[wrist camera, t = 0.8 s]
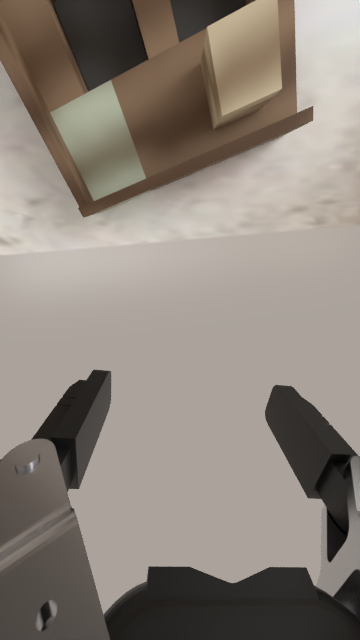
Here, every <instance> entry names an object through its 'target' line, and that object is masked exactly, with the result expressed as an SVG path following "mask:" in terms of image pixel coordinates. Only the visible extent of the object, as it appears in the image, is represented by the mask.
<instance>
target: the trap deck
mask: <svg viewBox="0 0 360 640" xmlns="http://www.w3.org/2000/svg"><path fill="white" fill-rule="evenodd" d="M131 1H132V5H133V8H134V12H135V15H136V19H137V22H138V26H139V29H140V33H141V36H140V33H139V29H138V26H137V22H136V19H135V15H134V12H133V8H132V5H131ZM131 1H130V0H0V60H1V62H2V64H3V66H4V68H5V70H6V71H7V73H8V75H9V77H10V79H11V81H12V83H13V84H14V86H15V88H16V90H17V92H18V94H19V95H20V97H21V99H22V101H23V103H24V105H25V107H26V108H27V110H28V112H29V114H30V116H31V118H32V120H33V121H34V123H35V125H36V127H37V129H38V131H39V133H40V134H41V136H42V138H43V140H44V142H45V144H46V146H47V147H48V149H49V151H50V153H51V155H52V157H53V159H54V160H55V162H56V164H57V166H58V168H59V170H60V172H61V173H62V175H63V177H64V179H65V181H66V183H67V185H68V186H69V188H70V190H71V192H72V194H73V196H74V198H75V199H76V201H77V203H78V205H79V208H78V209H79V210H80V212H81V214H82V216H83V217H86V216H90V215H93V214H96V213H100V212H102V211H105V210H107V209H109V208H112V207H114V206H116V205H119V204H121V203H124V202H126V201H128V200H131V199H133V198H135V197H138V196H140V195H143V194H145V193H147V192H150V191H152V190H154V189H157V188H159V187H162V186H164V185H166V184H169V183H171V182H173V181H176V180H178V179H181V178H183V177H185V176H188V175H190V174H192V173H195V172H197V171H200V170H202V169H204V168H207V167H209V166H211V165H214V164H216V163H219V162H221V161H223V160H226V159H228V158H230V157H233V156H235V155H238V154H240V153H242V152H245V151H247V150H249V149H252V148H254V147H257V146H259V145H261V144H264V143H266V142H268V141H271V140H273V139H276V138H278V137H280V136H283V135H285V134H287V133H289V132H291V131H293V130H295V129H297V128H299V127H301V126H303V125H305V124H307V123H309V122H311V121H313V106H312V107H310V108H308V109H305V110H303V111H301V112H298V113H297V97H296V55H295V12H294V0H278V17H279V37H280V57H281V78H282V89H281V90H280V91H279V92H278V93H277V94H276V95H275V96H274V97H273V98H272V99H271V100H270V101H269V102H268V103H267V104H266V105H264V106H263V107H262V108H261V109H260V110H258V111H255V112H253V113H251V114H249V115H246V116H244V117H242V118H240V119H238V120H235V121H233V122H231V123H229V124H226V125H224V126H222V127H220V128H218V129H215V130H213V126H212V120H211V115H210V110H209V105H208V99H207V94H206V89H205V84H204V78H203V73H202V68H201V63H200V62H201V57H202V52H203V46H204V41H205V35H206V30H207V26H209V25H211V24H213V23H215V22H217V21H219V20H220V19H222V18H224V17H226V16H228V15H230V14H232V13H233V12H235V11H237V10H239V9H241V8H243V7H244V6H246V5H248V4H250V3H252V2H254V1H256V0H131ZM55 9H56V10H55ZM57 14H58V15H57ZM58 16H59V17H58ZM59 19H60V20H59ZM60 21H61V22H60ZM61 24H62V25H61ZM62 26H63V27H62ZM64 31H65V32H64ZM66 36H67V37H66ZM141 37H142V40H143V43H142V40H141ZM68 41H69V42H68ZM143 44H144V47H145V51H146V54H147V58H148V60H147V58H146V54H145V51H144V47H143ZM70 46H71V47H70ZM71 48H72V49H71ZM72 51H73V52H72ZM73 53H74V54H73ZM75 58H76V59H75ZM77 63H78V64H77ZM79 68H80V69H79ZM81 73H82V74H81ZM83 78H84V79H83ZM84 80H85V81H84ZM86 85H87V86H86ZM88 90H89V91H88Z"/></svg>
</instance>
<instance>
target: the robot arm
mask: <svg viewBox="0 0 360 640" xmlns="http://www.w3.org/2000/svg"><path fill="white" fill-rule="evenodd" d="M110 401H111V371H103V370H93V371H92V373H91V374H90V376H89V377H88V379H87V381H86V380H79V381H78V382H76V383H75V384H73V385H72V386H70V387H69V389H68V390H67V391H66V392H65V394H64V395H63V397H62V398H61V399H60V401H59V402H58V403H57V406H55V408H54V409H53V410H52V412H51V413H50V415H49V416H48V417H47V419H46V420H45V421H44V423H43V424H42V426H41V427H40V429H39V430H38V431H37V433H36V434H35V435H34V437H33V438H32V439H31V440H29V441H27V442H24V443H22V444H20V445H18V446H16V447H15V448H13V449H12V450H11V451H9V452H8V453H7V454H6V455H5V456H4V458H2V459H1V460H0V640H360V456H358V455H357V454H356V453H355V451H354V450H352V448H351V447H350V446H349V445H348V444H347V442H346V441H345V440H344V439H343V438H342V437H341V436H340V435H339V434H338V433H337V431H336V430H335V429H334V428H333V427H332V426H331V425H329V422H328V421H327V420H326V419H325V418H324V417H322V414H321V413H320V412H319V411H318V410H317V409H316V408H315V407H314V406H313V405H312V404H311V403H309V402H308V401H307V400H305V399H304V398H302V397H301V396H300V395H299V393H298V392H297V391H296V390H295V389H294V388H293V387H291V386H282V385H275V386H274V387H273V389H272V392H271V395H270V398H269V401H268V404H267V407H266V411H265V417H266V421H267V423H268V425H269V427H270V429H271V430H272V432H273V434H274V436H275V438H276V440H277V442H278V444H279V445H280V447H281V449H282V451H283V453H284V455H285V456H286V458H287V460H288V462H289V464H290V466H291V468H292V469H293V471H294V473H295V475H296V477H297V479H298V480H299V482H300V484H301V486H302V488H303V490H304V492H305V493H306V495H307V497H308V498H316V499H322V500H323V502H324V503H325V505H324V507H323V509H322V536H321V541H322V542H321V543H322V544H321V570H320V576H319V579H318V582H317V586H314V585H313V582H312V580H311V578H310V575H309V573H308V571H307V568H297V567H296V568H294V567H292V568H291V567H290V568H289V567H269V568H267V569H265V570H263V571H261V572H259V573H257V574H254V575H252V576H250V577H248V578H246V579H244V580H241V581H239V582H237V583H229V582H226V581H223V580H221V579H218V578H216V577H213V576H211V575H208V574H206V573H203V572H201V571H198V570H196V569H193V568H191V567H149V569H148V575H147V582H144V583H142V584H140V585H138V586H136V587H134V588H132V589H131V590H129V591H128V592H126V593H125V594H124V595H123V596H122V597H120V598H119V599H118V600H117V601H116V602H115V603H114V604H113V605H112V606H111V607H110V608H109V609H108V610H107V611H106V612H105V614H104V615H103V612H102V608H101V604H100V601H99V597H98V593H97V590H96V586H95V582H94V579H93V575H92V571H91V568H90V564H89V560H88V557H87V553H86V549H85V546H84V543H83V538H82V535H81V531H80V527H79V524H78V520H77V517H76V514H75V511H74V509H72V507H71V505H70V501H69V497H68V494H67V492H68V489H79V487H80V484H81V482H82V479H83V476H84V474H85V471H86V469H87V466H88V463H89V460H90V458H91V455H92V453H93V450H94V448H95V445H96V442H97V440H98V437H99V434H100V432H101V429H102V426H103V423H104V421H105V419H106V416H107V413H108V411H109V407H110Z"/></svg>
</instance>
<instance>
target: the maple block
mask: <svg viewBox="0 0 360 640" xmlns="http://www.w3.org/2000/svg"><path fill="white" fill-rule="evenodd" d="M200 63H201V68H202V73H203V78H204V84H205V89H206V94H207V99H208V105H209V110H210V115H211V120H212V126H213V130H215V129H218V128H220V127H222V126H224V125H226V124H229V123H231V122H233V121H235V120H238V119H240V118H242V117H244V116H246V115H249V114H251V113H253V112H255V111H258V110H260V109H261V108H262V107H263V106H264V105H266V104H267V103H268V102H269V101H270V100H271V99H272V98H273V97H274V96H275V95H276V94H277V93H278V92H279V91H280V90H281V89H282V78H281V57H280V37H279V17H278V0H256V1H254V2H252V3H250V4H248V5H246V6H244V7H243V8H241V9H239V10H237V11H235V12H233V13H232V14H230V15H228V16H226V17H224V18H222V19H220V20H219V21H217V22H215V23H213V24H211V25H209V26H207V30H206V35H205V41H204V46H203V52H202V57H201V62H200Z"/></svg>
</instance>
